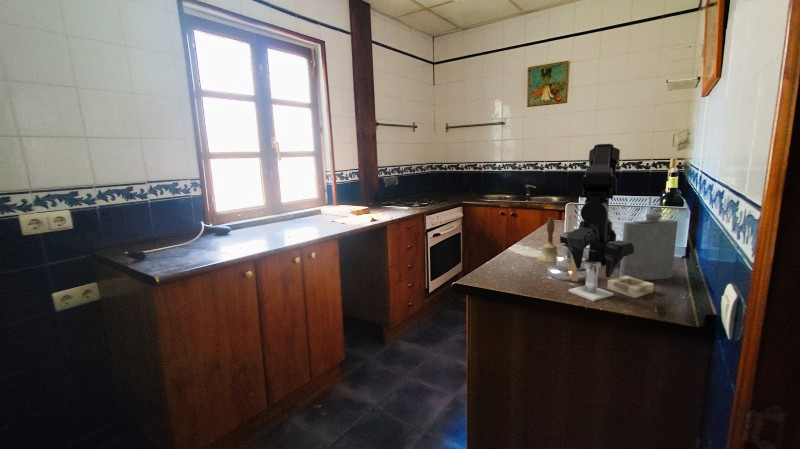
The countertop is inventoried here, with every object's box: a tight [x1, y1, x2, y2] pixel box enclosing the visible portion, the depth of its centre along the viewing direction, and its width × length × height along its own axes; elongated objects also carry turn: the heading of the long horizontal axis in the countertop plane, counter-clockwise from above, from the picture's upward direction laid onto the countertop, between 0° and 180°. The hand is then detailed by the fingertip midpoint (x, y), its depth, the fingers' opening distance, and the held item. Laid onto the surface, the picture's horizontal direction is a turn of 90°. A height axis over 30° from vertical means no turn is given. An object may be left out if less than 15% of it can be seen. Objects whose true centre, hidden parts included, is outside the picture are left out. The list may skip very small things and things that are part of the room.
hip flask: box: [619, 213, 679, 281], centre depth 111 cm, size 16×4×20 cm, turn 92°
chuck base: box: [547, 263, 586, 282], centre depth 118 cm, size 12×12×2 cm
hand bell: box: [537, 217, 559, 264], centre depth 134 cm, size 8×8×16 cm
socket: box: [606, 276, 655, 299], centre depth 104 cm, size 8×8×2 cm
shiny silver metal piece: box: [584, 262, 602, 293], centre depth 102 cm, size 5×3×8 cm, turn 115°
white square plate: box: [568, 284, 614, 302], centre depth 103 cm, size 8×8×1 cm
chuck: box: [555, 246, 580, 282], centre depth 112 cm, size 18×7×8 cm, turn 163°
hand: (592, 272), depth 102 cm, fingers open, 9 cm apart
